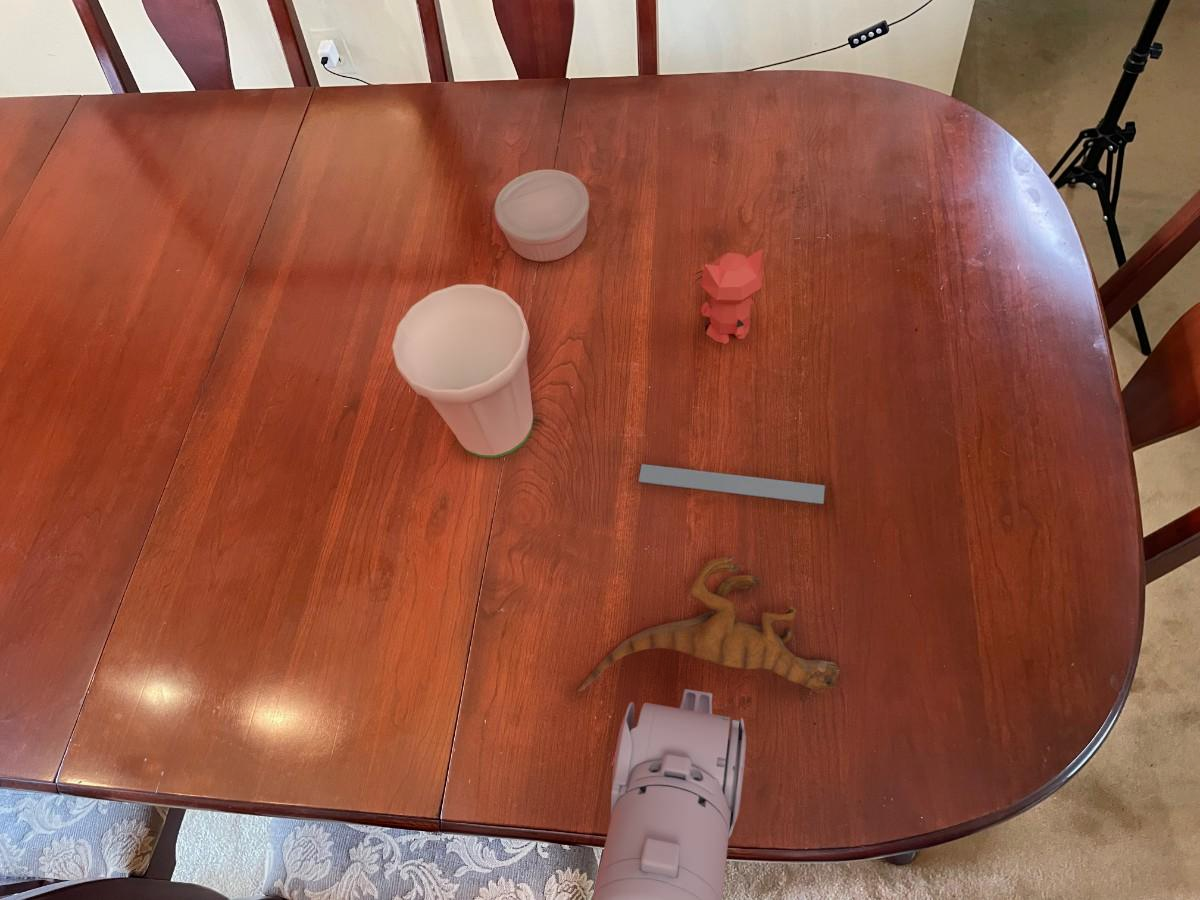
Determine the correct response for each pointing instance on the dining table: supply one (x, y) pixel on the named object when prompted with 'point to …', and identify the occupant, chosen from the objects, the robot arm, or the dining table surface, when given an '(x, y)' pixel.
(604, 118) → the dining table surface
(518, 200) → the ramekin
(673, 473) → the tape line
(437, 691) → the dining table surface
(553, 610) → the dining table surface
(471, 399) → the cup
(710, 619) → the dinosaur figurine
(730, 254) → the cat figurine
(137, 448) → the dining table surface
